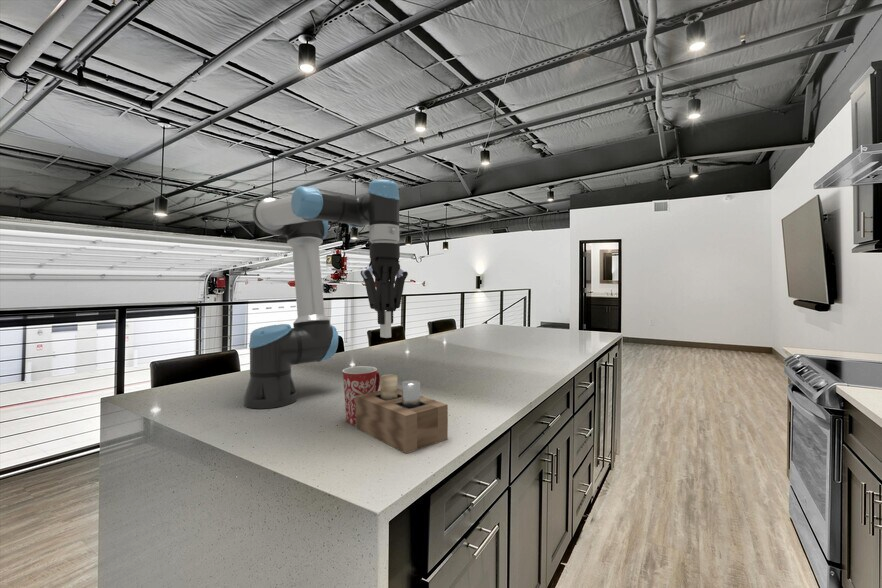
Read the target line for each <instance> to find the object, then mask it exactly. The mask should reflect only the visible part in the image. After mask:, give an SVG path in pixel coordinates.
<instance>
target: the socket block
mask: <svg viewBox="0 0 882 588" xmlns="http://www.w3.org/2000/svg"><path fill="white" fill-rule="evenodd" d="M397 390H398V398H394V399H389V400H385V399H382V398H381V390H378V391H376V392H371V393H366V394H361V395H356V424H355V428H356V429H358V430H359V431H361V432H363V433H366V435H367V434H368V435H369V436H372V437H373V438H375V439H377V440H379V441H381V442H382V443H384V444H386V445H389V446H390V447H392V448H394V449H396V450H398V451H400V452H401V453H404V454H410V453H412V452H415V451H417V450H421V449H423V448H426V447H429V446H432V445H435V444H437V443H441V442H443V441H446V440H448V439H449V437H448V434H449V432H448V431H449V430H448V428H449V426H448V417H449V416H448V413H449V412H448V411H449V409H448V406H449V405H448V403H443V402H441V401H437V400H434V399H432V398H429V397H425V396H423V395H420V406H417V407H414V408H410V409H409V408H406V407H403V406H402V388H398V387H397Z"/></svg>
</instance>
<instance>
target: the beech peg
mask: <svg viewBox="0 0 882 588" xmlns="http://www.w3.org/2000/svg"><path fill="white" fill-rule="evenodd" d="M379 376H380V391H381V398H382V399H385V400H389V399H394V398H398V390H397V388H398V375H397V374H392V373H391V374H388V373H386V374H381V375H379Z"/></svg>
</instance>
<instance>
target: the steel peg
mask: <svg viewBox="0 0 882 588" xmlns="http://www.w3.org/2000/svg"><path fill="white" fill-rule="evenodd" d="M401 390H402V406H403V407H406V408H409V409H410V408H414V407H417V406H420V396H421V382H420V381H419V380H415V379H413V380H412V379H411V380H404V381H401Z"/></svg>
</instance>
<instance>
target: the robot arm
mask: <svg viewBox="0 0 882 588" xmlns="http://www.w3.org/2000/svg"><path fill="white" fill-rule="evenodd" d="M399 190H400V189H399V186H398V183H396V182H395V181H393V180H389V179H375V180H372V181H370V182H369V184H368V189H367V192H368V193H367V194H365V195H361V196H360V195H359V196H358V195H354V194H353V195H352V194H348V193H343V192H338V191H337V192H336V191H332V190H326V189H321V188H316V187H314V186H303V185H302V186H301V185H300V186H298V187H296V188H295V189H294V191H293V192H292V195H289V196H285V197H281V198H274V197H268V198H267V197H266V198H264V199H261V200H259V201H257V202H256V204H255V205H254V207H253V208H252V213H251V214H252V218H253V221H254V223H255V225H256V226H257V227H258V228H259V229H260V230H262V231H263V232H265V233H268V234H271V235H274V236H281V237H286V243H287V245H288V246H289V247H291V249H292V261H293V271H294V273H293V275H294V284H295V285H294V286H295V297H296V298H295V300H296V313H297V318H296V319H295V320H294V322H293V323H292V324H293V327H292V326H291V325H290V324H289V323H288V324H287V323H281V324H280V323H279V324H272V325H266V326H261V327H258V328H255V329H254V330H252V331H251V333H250V335H249V343H248V344H249V345H248V347H249V381H248V384H247V387H246V390H245V392H244V395H243V407H246V408H249V409H256V410H257V409H272V408H273V409H274V408H278V407H284V406H287V405H291V404H293V403H295V402H296V401H298V390H297V388H296V385H295V382H294V380H293V377H292V366H294V365H295V366H296V365H300V364H301V365H302V364H309V363H320V362H322V361H328V360H330V359H332V358H333V357H334V356H335V353H336V352H337V349H338V346H339V332H338V330H337V328H336V326H334V325H332V324H331V322H330V318H328V317H327V316H326V314H325V306H324V295H323V282H322V271H321V257H320V246H321V245H322V244H323V242H324V241H323V240H324V239H325V238H326V237H327V236H328V232H329V231H328V230H329V222H333V223H339V224H346V225H348V226H349V227H352V228H363V227H366V226H368V227H369V228H368V229H369V231H368V233H369V236H368V237H369V238H368V241H369V242H370V244H369V259H370V262H369V264H368V267H367V268H366V269H365V270H364V269H363V270H361V271H360V276H361V278H363V281H364V286H365V290H366V294H367V299H368V303H369V307H370V309H371V310H374V311H375V312H377V324H378V325H379V327H380V328H379V333H380V334H379V336H380V338H385V339H389V338H392V324H394V312H396V310H397V309H400V308H401V303H402V299H403V298H402V297H403V292H404V288H405V287H404V286H405V281H406V278H407V277H408V274H409V273H408V271H404V270H403V269H402V268H401V265H400V263H399V260H400V256H401V255H400V253H401V252H400V251H401V246H400V245H399V244H398V243H399V242H400V193H399ZM373 276H374V277H373Z"/></svg>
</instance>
